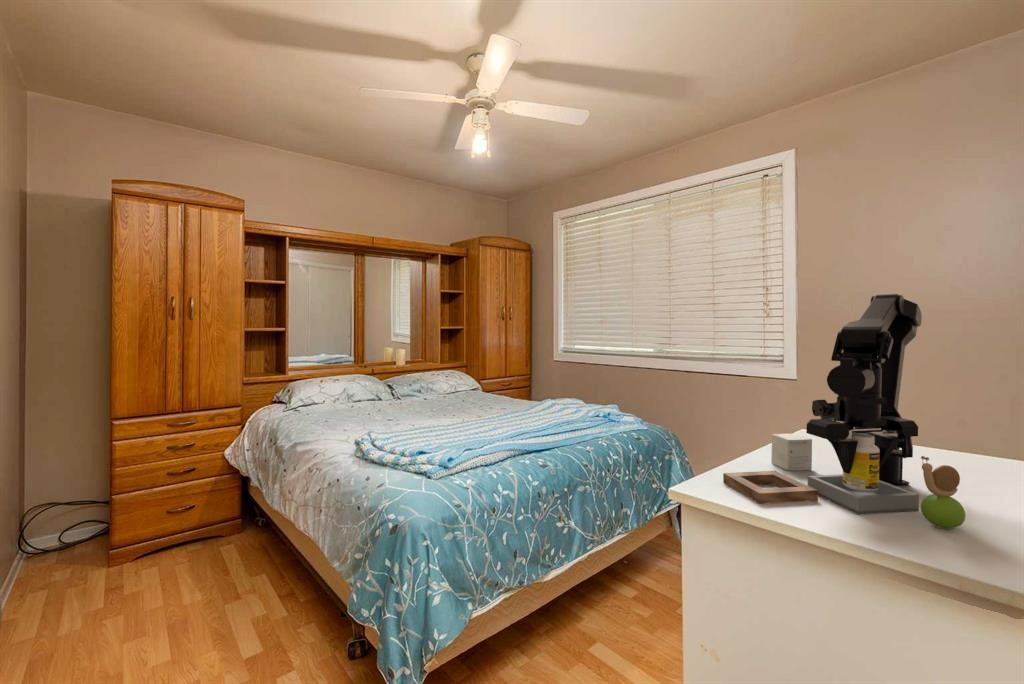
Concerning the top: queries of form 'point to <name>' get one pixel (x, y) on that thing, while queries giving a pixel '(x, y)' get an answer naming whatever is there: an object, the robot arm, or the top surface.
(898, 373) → the robot arm
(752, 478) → the wooden rectangular frame
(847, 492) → the parts tray
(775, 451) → the product box
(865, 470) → the supplement bottle
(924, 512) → the snail figurine
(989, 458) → the top surface
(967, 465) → the top surface
